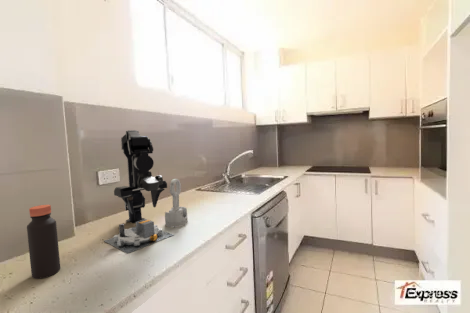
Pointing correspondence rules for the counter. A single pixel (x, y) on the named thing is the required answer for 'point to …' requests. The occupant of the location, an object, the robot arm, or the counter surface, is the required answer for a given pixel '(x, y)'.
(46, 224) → the bottle
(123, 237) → the sprocket
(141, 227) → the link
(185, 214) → the engine component
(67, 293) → the counter surface
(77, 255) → the counter surface
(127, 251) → the cover plate
